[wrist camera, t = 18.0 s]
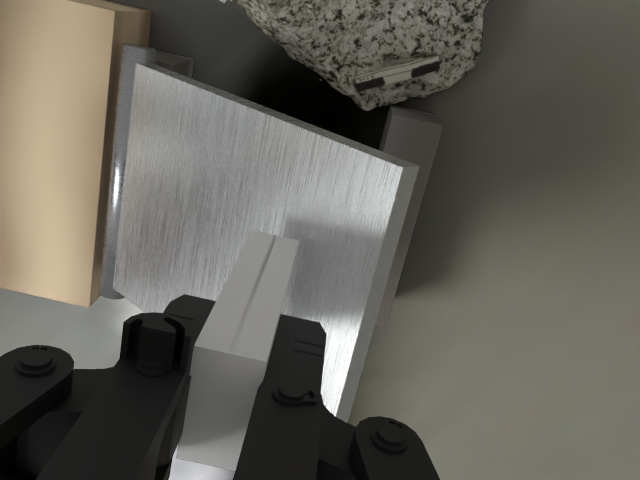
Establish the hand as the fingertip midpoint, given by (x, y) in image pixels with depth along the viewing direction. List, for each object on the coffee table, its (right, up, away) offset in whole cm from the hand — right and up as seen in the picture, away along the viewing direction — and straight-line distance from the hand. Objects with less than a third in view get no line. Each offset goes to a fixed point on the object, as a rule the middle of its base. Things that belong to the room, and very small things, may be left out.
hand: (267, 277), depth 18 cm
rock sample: (+5, +11, +7) cm, 14 cm away
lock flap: (-6, +3, +6) cm, 9 cm away
